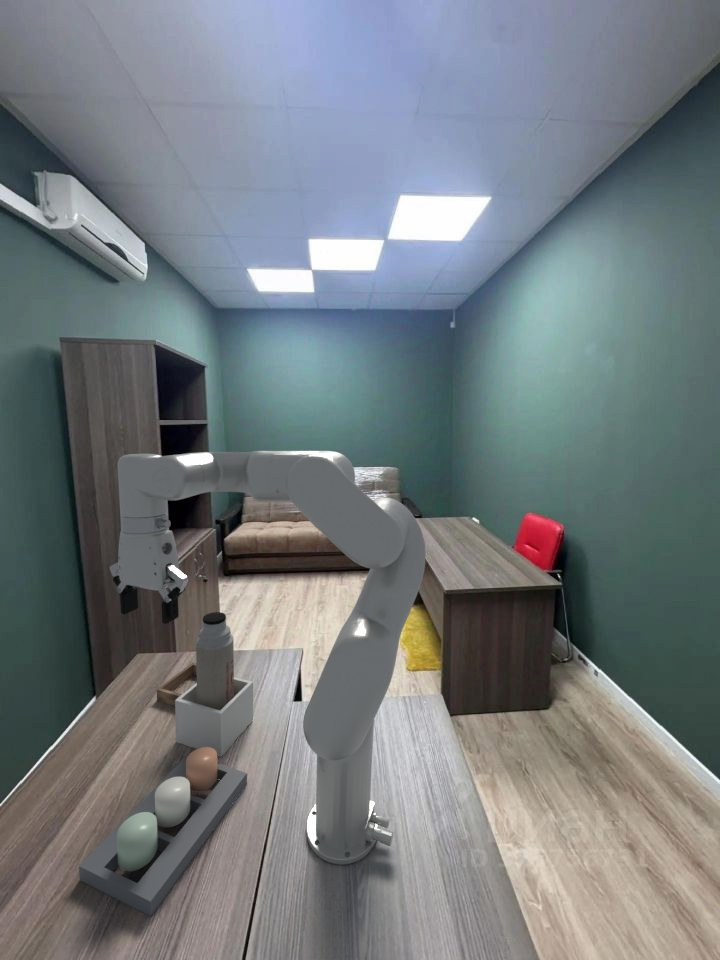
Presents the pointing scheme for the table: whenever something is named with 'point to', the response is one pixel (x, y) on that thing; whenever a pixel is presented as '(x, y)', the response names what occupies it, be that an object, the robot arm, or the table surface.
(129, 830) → the sage egg
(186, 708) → the grey open box
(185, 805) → the cream egg
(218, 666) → the thermos bottle
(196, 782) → the terracotta egg
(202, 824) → the pebble holder tray
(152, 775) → the table surface
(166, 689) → the walnut deck tray
